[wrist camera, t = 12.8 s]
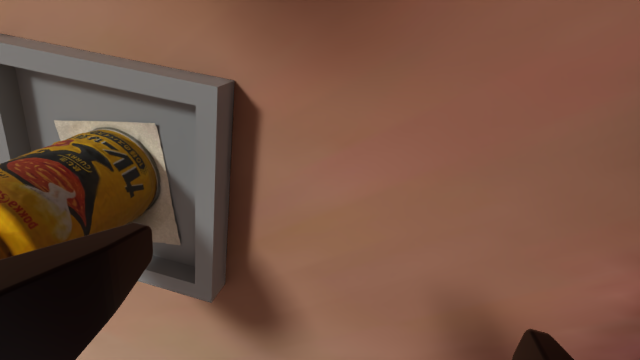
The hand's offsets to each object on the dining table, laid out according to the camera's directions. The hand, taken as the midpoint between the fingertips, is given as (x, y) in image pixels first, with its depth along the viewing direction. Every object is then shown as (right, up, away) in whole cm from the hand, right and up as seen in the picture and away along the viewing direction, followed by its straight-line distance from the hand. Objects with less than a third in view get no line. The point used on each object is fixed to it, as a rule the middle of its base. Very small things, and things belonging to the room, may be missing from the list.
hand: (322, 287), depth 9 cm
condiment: (-13, +2, +17) cm, 21 cm away
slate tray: (-13, +3, +17) cm, 21 cm away
